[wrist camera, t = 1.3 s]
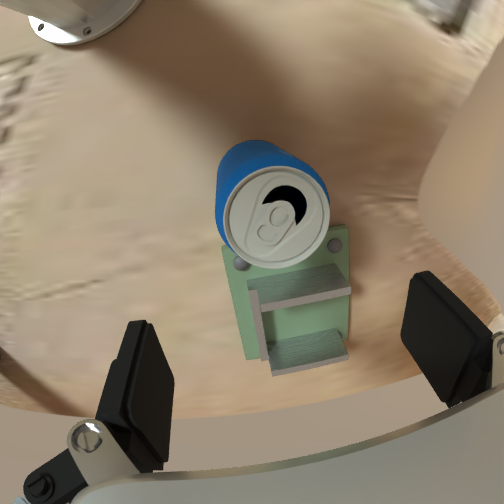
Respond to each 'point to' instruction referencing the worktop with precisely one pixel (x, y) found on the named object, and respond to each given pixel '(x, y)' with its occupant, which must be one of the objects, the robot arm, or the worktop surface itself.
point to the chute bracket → (292, 294)
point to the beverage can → (270, 205)
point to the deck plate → (294, 317)
